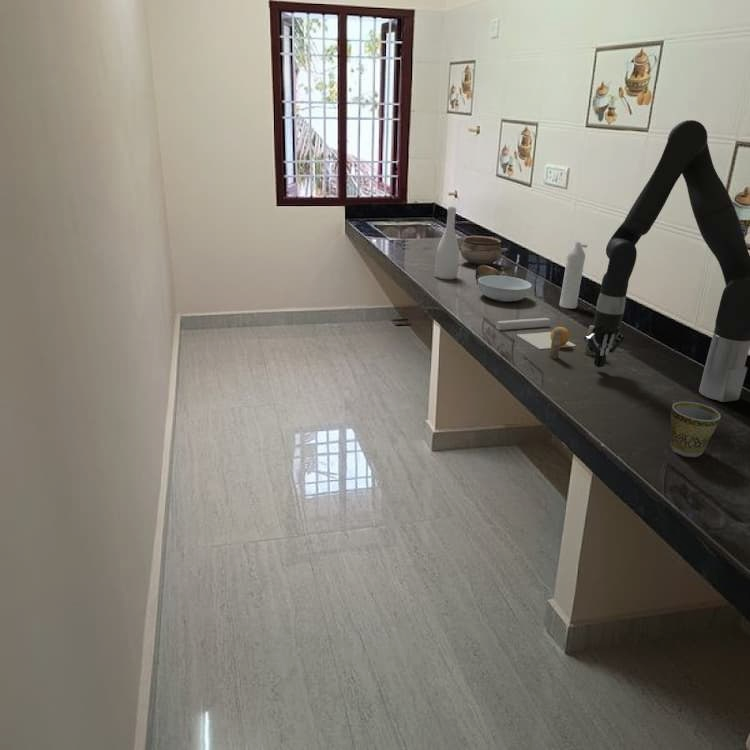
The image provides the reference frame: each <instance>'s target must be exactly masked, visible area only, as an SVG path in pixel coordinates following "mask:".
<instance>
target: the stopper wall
mask: <svg viewBox="0 0 750 750" xmlns="http://www.w3.org/2000/svg"><path fill="white" fill-rule="evenodd" d="M550 323H551V319H550V318H548V317H539V318H525V319H524V318H523V319H513V320H512V319H510V320H498V321H496V327H495V328H496V330H498V331H504V330H505V331H506V330H516V329H517V330H519V329H529V328H530V329H531V328H542V327H544V328H546V327H547V328H548V327H549V326H550Z"/></svg>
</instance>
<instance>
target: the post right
mask: <svg viewBox="0 0 750 750" xmlns="http://www.w3.org/2000/svg"><path fill="white" fill-rule="evenodd" d="M593 329H594V324H593V325H592V324H591V325H589V327H588V332H587V333H588V334H587V336H589V335H591V334H592V330H593ZM594 343H595V342H594ZM584 355H586V356H593V355H594V353H593V352H591V351H590V349H589V347H588V345H587V343H586V342H585V349H584Z"/></svg>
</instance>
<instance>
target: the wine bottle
mask: <svg viewBox="0 0 750 750" xmlns="http://www.w3.org/2000/svg"><path fill="white" fill-rule="evenodd" d="M446 212H447V215H446V216H447V218H446V225H445V226H446V227H445V230H444V231H443V234H442V237H441V238H440V241H439V243H438V245H437V248H436V249H437V250H436V256H435V257H436V258H435V266H434V267H435V269H434V276H435V277H436V278H437V279H440V280H446V281H447V280H455V279H456V278H457V275H458V269H459V268H458V266H459V257H460V250H459V247H458V246H459V243H458V239H457V234H456V229H455V224H456V223H455V221H456V213H457V208H456V207H455V206H448V207H447V211H446Z"/></svg>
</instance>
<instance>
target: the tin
mask: <svg viewBox="0 0 750 750" xmlns="http://www.w3.org/2000/svg"><path fill="white" fill-rule="evenodd" d="M492 275H497V276H501V273H500V271H499V269H496V268H494V267H491V266H490V265H489V266H488V265H487V266H486V265H480V266H479V267H477V268H476V271H475V280H476V283H477V284H478V279H479V278H480V277H483V276H492Z"/></svg>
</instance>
